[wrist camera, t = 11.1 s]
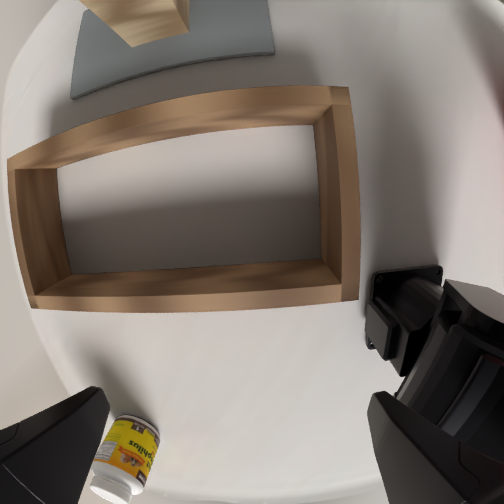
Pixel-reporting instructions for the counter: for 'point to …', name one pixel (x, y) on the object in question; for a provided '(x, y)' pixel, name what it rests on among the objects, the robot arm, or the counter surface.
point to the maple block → (142, 18)
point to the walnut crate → (199, 278)
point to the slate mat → (171, 44)
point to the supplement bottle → (124, 459)
